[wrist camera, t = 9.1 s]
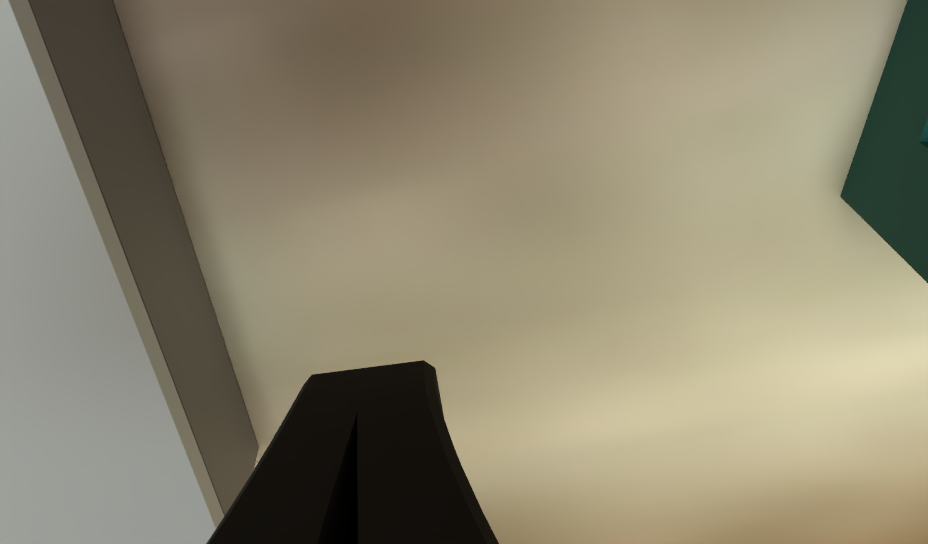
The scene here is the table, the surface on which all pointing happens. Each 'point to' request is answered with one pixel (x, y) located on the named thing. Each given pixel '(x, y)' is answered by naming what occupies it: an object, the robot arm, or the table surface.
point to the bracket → (897, 146)
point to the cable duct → (150, 228)
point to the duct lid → (78, 342)
